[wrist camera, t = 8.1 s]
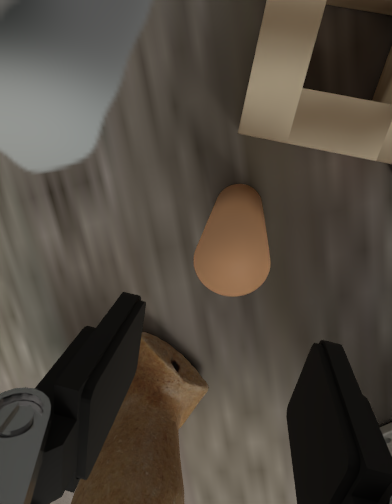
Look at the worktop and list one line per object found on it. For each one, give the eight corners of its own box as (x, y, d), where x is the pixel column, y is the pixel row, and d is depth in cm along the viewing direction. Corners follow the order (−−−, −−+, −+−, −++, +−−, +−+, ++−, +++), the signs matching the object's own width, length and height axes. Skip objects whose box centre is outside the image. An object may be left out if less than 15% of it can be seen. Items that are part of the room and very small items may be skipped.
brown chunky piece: (170, 450, 41) (130, 617, 27) (88, 403, 40) (3, 551, 26) (239, 376, 35) (232, 543, 21) (144, 319, 34) (72, 454, 20)
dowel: (255, 233, 29) (259, 303, 18) (211, 223, 29) (187, 287, 18) (267, 189, 27) (279, 236, 16) (220, 179, 27) (201, 218, 16)
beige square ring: (395, 161, 25) (428, 171, 20) (240, 131, 26) (237, 133, 21) (477, -36, 20) (545, -83, 15) (283, -66, 21) (292, -118, 16)
